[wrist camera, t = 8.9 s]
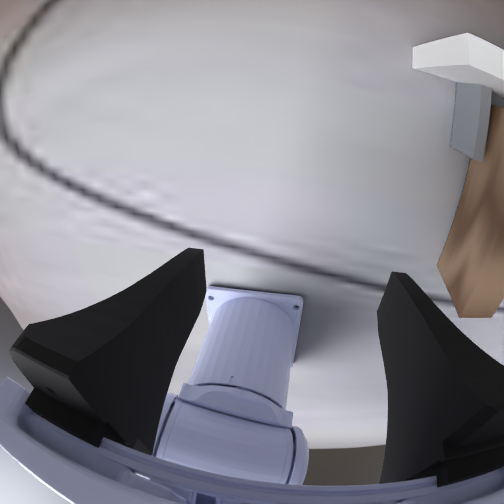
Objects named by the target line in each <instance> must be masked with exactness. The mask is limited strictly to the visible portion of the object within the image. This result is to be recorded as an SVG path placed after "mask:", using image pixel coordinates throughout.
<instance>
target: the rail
mask: <svg viewBox="0 0 504 504" xmlns="http://www.w3.org/2000/svg"><path fill="white" fill-rule="evenodd" d="M437 267H438V270H439V272H440V274H441V276H442V278H443V280H444V283H445V285H446V287H447V289H448V292H449V294H450V296H451V299H452V301H453V303H454V306H455V308H456V311H457V313H458V316H459V318H491V317H492V316H493V314H494V313H495V311H496V310H497V308H498V306H499V305H500V303H501V301H502V300H503V298H504V109H503V108H501V107H498V106H495V105H492V104H491V107H490V117H489V126H488V133H487V140H486V146H485V152H484V157H483V162H481V161H478V160H474V159H472V158H471V160H470V164H469V169H468V173H467V177H466V181H465V184H464V188H463V192H462V195H461V199H460V202H459V205H458V208H457V212H456V215H455V218H454V221H453V224H452V227H451V230H450V233H449V235H448V238H447V241H446V244H445V246H444V249H443V251H442V254H441V257H440V259H439V262H438V264H437Z"/></svg>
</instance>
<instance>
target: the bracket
mask: <svg viewBox="0 0 504 504" xmlns="http://www.w3.org/2000/svg"><path fill="white" fill-rule="evenodd" d="M412 69H415V70H419V71H422V72H426V73H429V74H433V75H436V76H439V77H442V78H445V79H449V80H451V81H454V82H456V97H455V108H454V118H453V126H452V134H451V141H450V147H452V148H454V149H456V150H457V151H459V152H461V153H463V154H465V155H467V156H468V157H470V158H472V159H474V160H478V161H481V162H483V157H484V152H485V146H486V140H487V133H488V126H489V117H490V107H491V104H492V105H495V106H498V107H501V108H503V109H504V50H503V49H501V48H499V47H497V46H495V45H493V44H491V43H489V42H487V41H485V40H483V39H481V38H479V37H477V36H474V35H472V34H470V33H464V34H460V35H455V36H451V37H447V38H443V39H439V40H436V41H432V42H428V43H425V44H422V45H418V46H415V47H413V58H412Z"/></svg>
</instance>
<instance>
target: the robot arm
mask: <svg viewBox="0 0 504 504" xmlns="http://www.w3.org/2000/svg"><path fill="white" fill-rule="evenodd" d="M211 296H213V297H211ZM205 297H206V305H207V312H208V320H209V329H208V331H207V334H206V337H205V339H204V342H203V344H202V347H201V350H200V352H199V355H198V358H197V360H196V363H195V366H194V368H193V371H192V374H191V376H190V379H189V382H188V384H187V383H184V384H183V386H182V389H181V391H180V394H179V397H178V395H176V394H173V393H168V394H167V391H168V388H169V385H170V382H171V378H172V375H173V372H174V369H175V366H176V364H177V361H178V359H179V356H180V354H181V352H182V350H183V348H184V346H185V343H186V341H187V339H188V337H189V335H190V333H191V331H192V329H193V326H194V324H195V322H196V320H197V318H198V316H199V313H200V311H201V308H202V305H203V301H204V298H205ZM295 305H297V306H298V307H295ZM302 308H303V298H302V297H301V296H297V295H287V294H277V293H267V292H258V291H249V290H240V289H231V288H223V287H214V286H208V287H207V288H206V278H205V265H204V251H203V249H195V248H187V249H186V250H184V251H182V252H181V253H179V254H178V255H177V256H175V257H174V258H172V259H171V260H169V261H168V262H167V263H165V264H164V265H162V266H161V267H159V268H158V269H156V270H155V271H154V272H152V273H151V274H149V275H147V276H146V277H144V278H143V279H141V280H139V281H138V282H136V283H135V284H133V285H132V286H130V287H128V288H126V289H125V290H123V291H121V292H119V293H117V294H115V295H113V296H111V297H109V298H107V299H105V300H103V301H101V302H98V303H96V304H94V305H91V306H89V307H87V308H84V309H82V310H79V311H76V312H74V313H71V314H68V315H64V316H61V317H58V318H54V319H50V320H46V321H42V322H38V323H33V324H29V325H28V326H27V327H26V328H25V330H24V331H23V333H22V334H21V335H20V336H19V338H18V339H17V340H16V342H15V343H14V344H13V346H12V347H11V348H10V355H11V357H12V359H13V361H14V363H15V364H16V365H17V367H18V368H19V370H20V371H21V372H22V373H23V375H24V376H25V377H26V378H27V379H28V381H29V382H30V383H31V384H32V386H33V387H34V389H33V391H32V392H31V393H30V392H29V391H28V390H26V389H25V388H24V387H22V386H21V385H19V384H18V383H16V382H15V381H14V380H12V379H11V378H9V377H6V378H5V379H4V381H3V382H2V384H1V385H0V446H1V447H2V448H3V449H4V450H5V451H6V452H7V453H8V454H9V455H10V456H11V457H12V458H14V459H15V460H16V461H17V462H18V463H19V464H20V465H22V466H23V467H24V468H25V469H26V470H27V471H28V472H30V473H31V474H32V475H33V476H35V477H36V478H37V479H38V480H40V481H41V482H42V483H44V484H45V485H46V486H47V487H49V488H50V489H52V490H53V491H54V492H56V493H57V494H58V495H60V496H61V497H63V498H64V499H66V500H68V501H69V502H70V503H72V504H393V503H396V504H504V366H503V365H502V364H500V363H499V362H497V361H496V360H495V359H493V358H492V357H491V356H489V355H488V354H487V353H485V352H484V351H483V350H482V349H480V348H479V347H478V346H477V345H476V344H474V343H473V342H472V341H471V340H470V339H469V338H468V337H467V336H466V335H464V334H463V333H462V332H461V331H460V330H459V329H458V328H457V327H456V326H455V325H454V324H453V323H452V322H451V321H450V320H449V319H448V318H447V317H446V316H445V315H444V313H443V312H442V311H441V310H440V309H439V308H438V307H437V306H436V305H435V304H434V303H433V301H432V300H431V299H430V298H429V297H428V296H427V295H426V294H425V293H424V291H423V290H422V289H421V288H420V287H419V286H418V285H417V284H416V283H415V282H414V281H413V280H412V278H411V277H409V276H408V275H407V274H406V273H399V272H392V273H391V276H390V279H389V281H388V284H387V287H386V290H385V292H384V295H383V298H382V300H381V303H380V305H379V308H378V310H377V318H378V333H379V339H380V345H381V350H382V356H383V361H384V367H385V373H386V380H387V389H388V425H387V439H386V450H385V457H384V463H383V469H382V475H381V479H380V483H379V484H373V485H358V486H357V485H356V486H309V485H302V484H303V481H304V479H305V475H306V471H307V467H308V459H309V448H308V443H307V440H306V438H305V436H304V434H303V432H302V430H301V429H300V428H299V427H297V426H292V418H293V412H291V411H287V410H286V403H287V394H288V386H289V377H290V368H291V367H292V366H293V361H294V355H295V350H296V344H297V338H298V332H299V326H300V320H301V314H302Z"/></svg>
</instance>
